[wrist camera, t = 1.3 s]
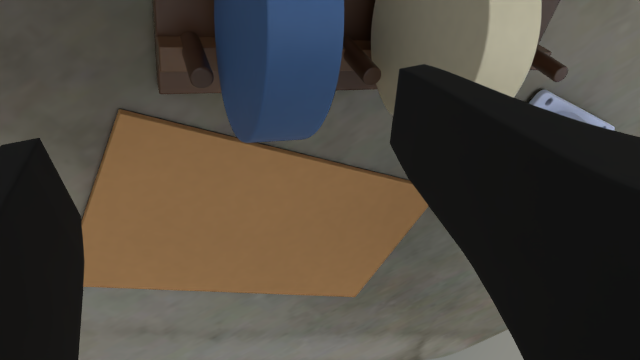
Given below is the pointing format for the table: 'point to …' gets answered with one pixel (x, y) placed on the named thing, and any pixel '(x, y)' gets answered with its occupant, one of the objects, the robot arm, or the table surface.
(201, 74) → the rack
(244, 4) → the blue disc
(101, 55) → the table surface
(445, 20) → the cream disc
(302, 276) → the mat
